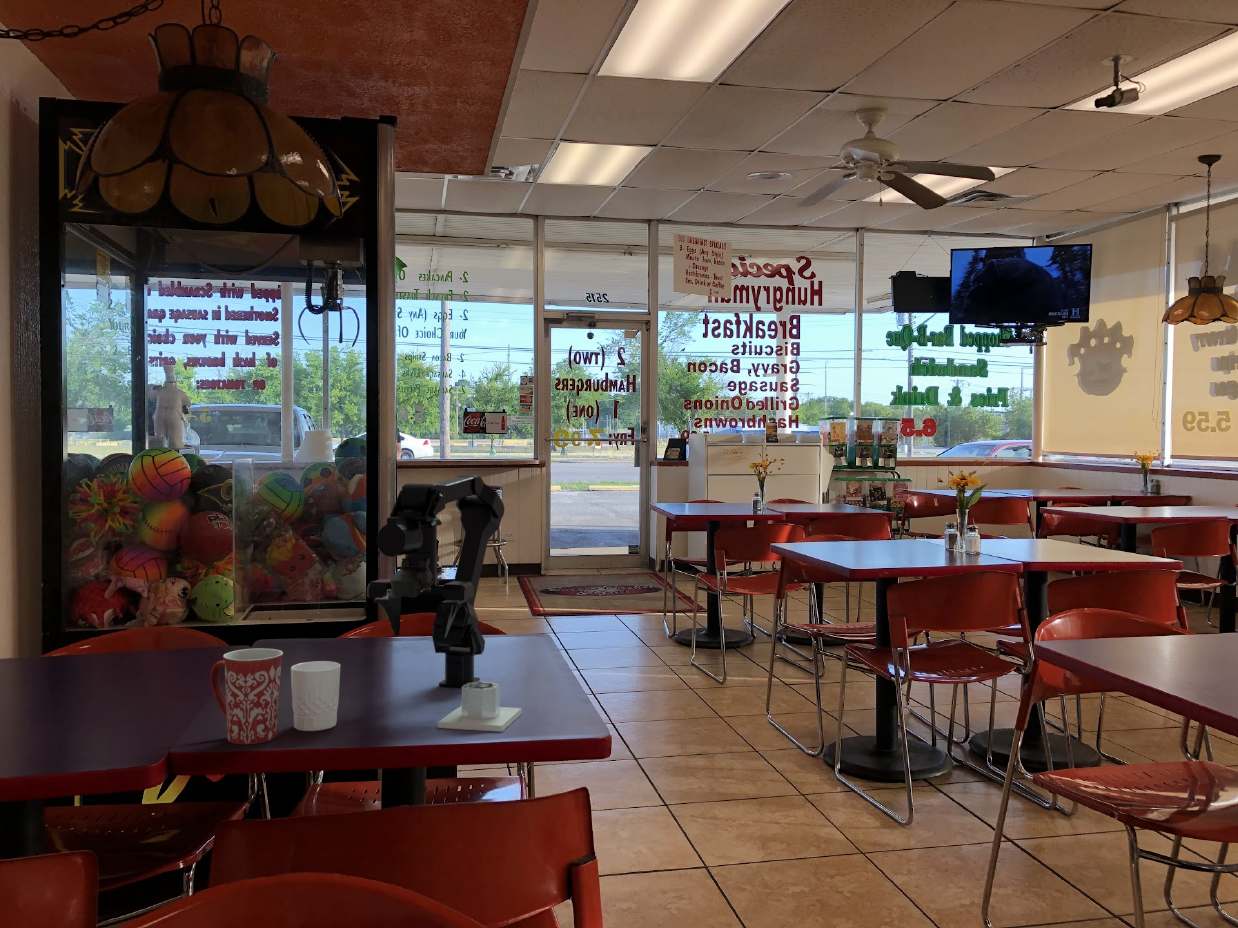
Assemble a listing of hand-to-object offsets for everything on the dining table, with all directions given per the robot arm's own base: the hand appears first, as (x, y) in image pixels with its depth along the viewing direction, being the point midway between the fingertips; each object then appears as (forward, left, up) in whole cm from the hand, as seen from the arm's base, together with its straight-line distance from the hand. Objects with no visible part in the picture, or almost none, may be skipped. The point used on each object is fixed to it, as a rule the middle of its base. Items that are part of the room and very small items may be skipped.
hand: (420, 636), depth 173 cm
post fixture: (+9, +15, -12) cm, 21 cm away
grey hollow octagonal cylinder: (+9, +15, -11) cm, 21 cm away
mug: (+26, -19, -12) cm, 34 cm away
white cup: (+18, -11, -12) cm, 24 cm away
